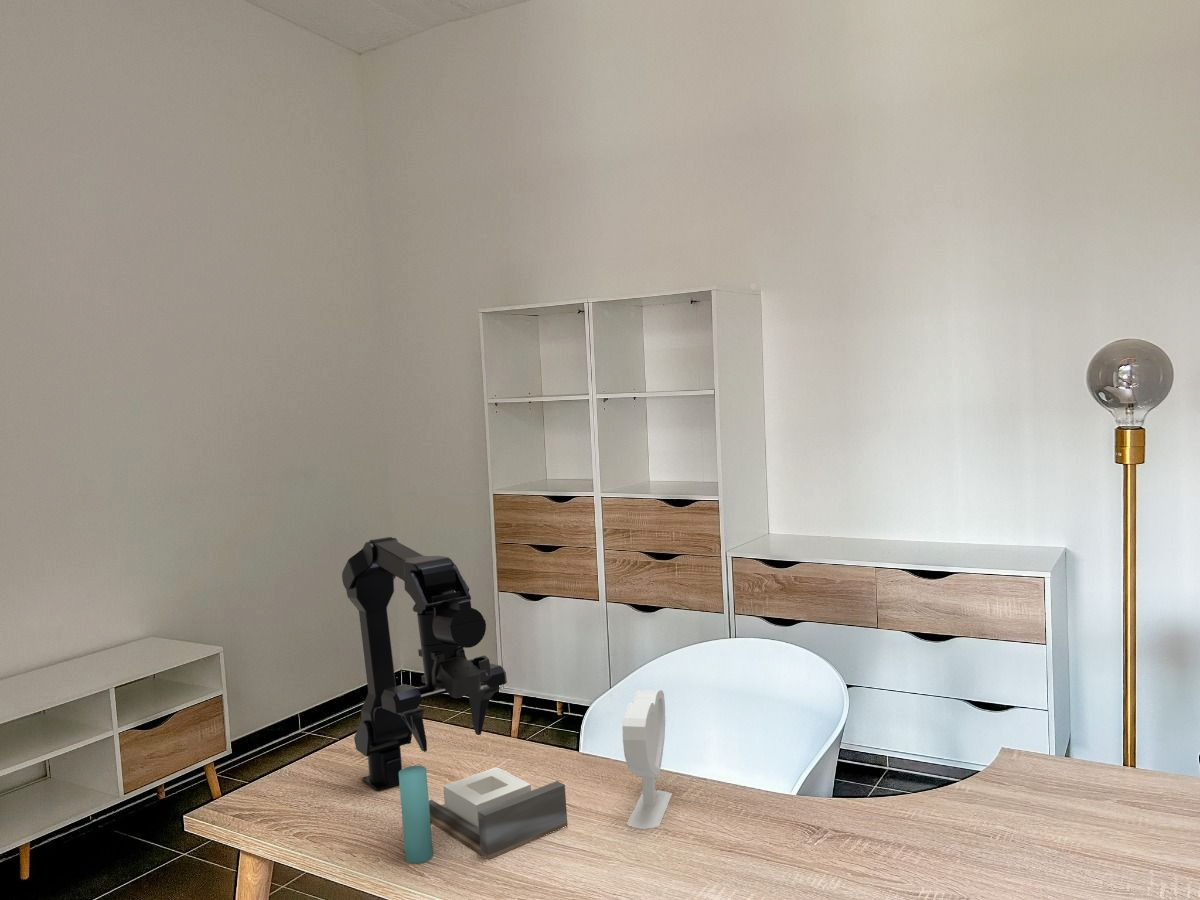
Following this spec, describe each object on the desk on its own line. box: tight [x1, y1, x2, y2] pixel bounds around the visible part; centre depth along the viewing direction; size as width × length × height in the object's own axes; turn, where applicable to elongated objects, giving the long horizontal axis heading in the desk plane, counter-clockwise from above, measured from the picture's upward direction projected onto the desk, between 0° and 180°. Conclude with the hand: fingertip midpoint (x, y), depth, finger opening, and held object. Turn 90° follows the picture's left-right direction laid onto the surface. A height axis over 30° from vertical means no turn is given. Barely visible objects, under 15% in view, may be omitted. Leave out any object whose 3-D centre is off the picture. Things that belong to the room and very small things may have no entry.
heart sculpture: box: [621, 689, 673, 830], centre depth 152 cm, size 16×5×18 cm, turn 165°
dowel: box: [398, 765, 434, 865], centre depth 141 cm, size 4×4×13 cm
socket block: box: [443, 766, 532, 829], centre depth 152 cm, size 10×10×5 cm
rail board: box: [429, 780, 568, 860], centre depth 151 cm, size 20×14×7 cm
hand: (451, 742), depth 147 cm, fingers open, 9 cm apart
